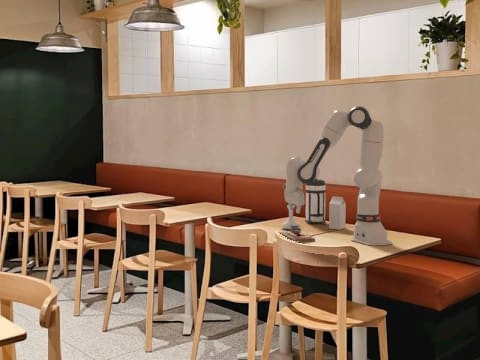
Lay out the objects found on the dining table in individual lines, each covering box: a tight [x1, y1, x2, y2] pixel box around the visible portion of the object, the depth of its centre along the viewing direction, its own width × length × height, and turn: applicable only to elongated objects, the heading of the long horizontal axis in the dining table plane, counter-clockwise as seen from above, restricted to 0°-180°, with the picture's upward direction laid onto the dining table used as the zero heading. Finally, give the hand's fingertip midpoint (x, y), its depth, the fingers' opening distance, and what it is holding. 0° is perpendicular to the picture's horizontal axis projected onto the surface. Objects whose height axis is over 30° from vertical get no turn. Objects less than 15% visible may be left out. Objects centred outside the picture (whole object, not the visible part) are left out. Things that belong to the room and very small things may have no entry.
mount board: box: [278, 229, 316, 243], centre depth 325 cm, size 22×12×4 cm, turn 17°
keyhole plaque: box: [286, 225, 312, 240], centre depth 323 cm, size 17×7×5 cm, turn 17°
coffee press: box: [304, 177, 327, 225], centre depth 371 cm, size 17×16×30 cm
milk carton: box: [328, 195, 347, 230], centre depth 353 cm, size 7×7×19 cm
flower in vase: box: [281, 205, 301, 230], centre depth 352 cm, size 13×11×25 cm
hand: (294, 211), depth 327 cm, fingers open, 8 cm apart
